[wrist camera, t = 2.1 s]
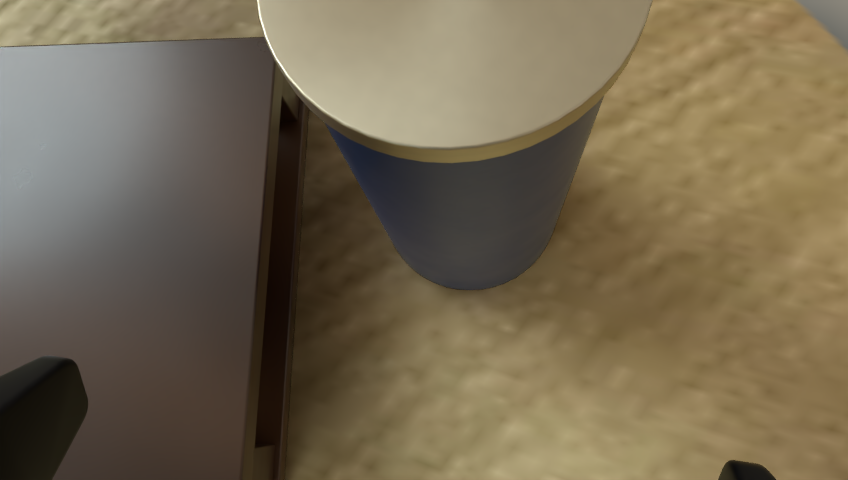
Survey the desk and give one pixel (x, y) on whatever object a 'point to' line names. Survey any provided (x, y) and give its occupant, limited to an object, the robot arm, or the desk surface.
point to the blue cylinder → (458, 114)
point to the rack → (156, 248)
